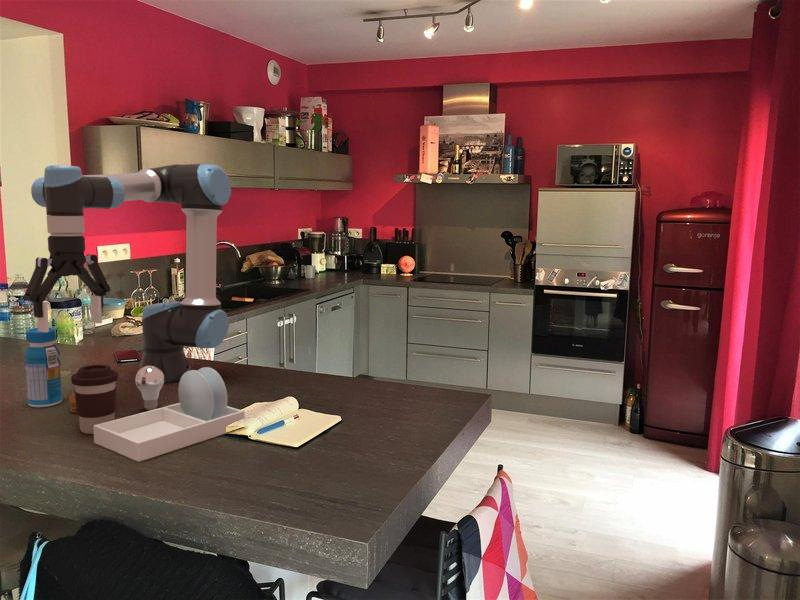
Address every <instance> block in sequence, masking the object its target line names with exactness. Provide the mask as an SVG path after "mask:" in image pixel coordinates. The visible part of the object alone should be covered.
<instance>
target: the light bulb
mask: <svg viewBox="0 0 800 600" xmlns="http://www.w3.org/2000/svg"><path fill="white" fill-rule="evenodd" d="M134 382H135V386H136V387H137V388H138V390H139V391H140V393H141V397H142V399H143V400H144V401H143V407H144V409H146V410H147V411H150V410H154V409H158V403H159V401H158V398H159V397H160V391H161V390H162V388H163V385H164V383H165V382H164V374H163V372H162V371H161V370H160V369H159V368H158V367H156V366H152V365H149V366H145V367H143V368H141V369H140V370H139V369H138V371H137V372H136V375H135V381H134Z"/></svg>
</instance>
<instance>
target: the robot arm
mask: <svg viewBox="0 0 800 600" xmlns="http://www.w3.org/2000/svg"><path fill="white" fill-rule="evenodd" d="M30 190H31V191H30V192H31V193H30V194H31V197H32V200H33V201H34V202H35V203H36V204H37V205H38V206H40V207H42V208H45V209H46V210H45V211H46V213H45V214H46V226H47V227H46V228H47V229H46V231H47V233H48V234H50V235H49V236H47V250H48V252H49V257H48V258H47V257H36V258H35V267H34V271H33V272H32V275H31V277H30V280H29V282H28V285H27V288H26V289H25V292H24V295H23V300H24V301H26V302H31V303H32V305H33V307H32V309H33V316H34V318H36V319H37V320H36V321H37V322H36V323H37V328H38V331H40V332H49V328H50V327H49V312H48V302H44V301H45V300H46V298H47V297H48V295H50V292H51V291H52V289H53V288H54V287H55V286H56V284H57V282H59V280H60V279H62V277H69V276H77V277H78V278H79V279H80V280H81V281H82V282H83V283H84V285H85V286H86V287H87V288H88V289H89V291H91V292H92V294H93V295H90V312H91V323H92V324H93V323H94V324H102V323H103V318H102V317H103V315H102V314H103V313H102V309H103V308H104V306H105V305H104V297H105V296H107V293H110V291H111V287H110V285H109V283H108V281H107V279H106V277H105V275H104V273H103V271H102V269H101V267H100V264H99V261H98V256H97V255H96V254H91V253H90V254H89V253H87V254H85V251H86V240H85V239H86V237H84V235H83V234H85V232H86V231H85V229H86V228H85V217H84V215H85V214H84V213H85V211H84V209H94V210H96V209H97V210H99V209H100V210H101V209H104V210H110V209H117V208H119V207H120V206H121V205H122V204H123V203H124V202H128V201H130V202H131V201H139V200H140V201H143V202H145V203H166V204H174V205H180V209H181V211H182V213H184V214H185V216H186V220H185V221H186V226H185V227H186V231H185V232H186V238H185V239H186V240H185V241H186V242H185V244H186V245H185V246H186V247H185V296H184V299H182V300H181V301H180V300H176V301H174V300H173V301H166V302H165V301H164V302H158V303H157V302H156V303H152V304H147V305H145V306H144V307H143V308H142V311H141V312H142V315H141V316H142V318H141V326H142V327H141V328H142V345H143V355H142V358H141V361H140V364H139V369H138V371H139V370H140V369H141V368H143V367H145V366H149V365H152V366H156V367H158V368H159V369H160V370H161V371H162V372H163V374H164V383H170V382H171V383H172V382H177V381H180V379H181V377H182V375H183V374H184V373H185V372H187V371H190V370H191V366H190V364H189V362H188V359H187V356H186V353H185V348H184V347H191V348H198V349H201V350H202V349H215V348H217V347H219V346H220V345H221V344H222V343H223V342H224V340H225V339H226V336H227V335H228V332H229V326H230V319H229V316H228V314H227V313H226V312H225V311H224V310H223V309H222V303H221V301H220V300H219V299H218V298H217V235H218V233H217V231H218V230H217V229H218V227H217V226H218V225H217V224H218V223H217V222H218V221H217V220H218V216H220V215H221V213H223V206H225V205H226V204H228V203H229V199H230V198H231V194H232V186H231V181H230V178H229V177H228V174H226V171H225V170H224V169H223V168H222V167H221V166H219V165H217V164H208V163H196V164H195V163H193V164H192V163H191V164H188V163H187V164H170V165H163V166H157V167H151V168H143V169H140V170H139V171H138V172H128V173H127V172H125V173H109V174H108V173H105V174H87V175H83V174H82V168H81V167H80V166H78V165H77V166H74V165H63V164H62V165H58V164H57V165H55V164H54V165H53V164H52V165H47V166H46V167H45V168H44V175H43V177H42V176H41V177H38V178H37V179H35V180H33V183H32V185H31V188H30ZM85 264H86V265H87V268H88V269H89V271H88V269H86V267H85ZM50 267H51V268H50ZM48 268H50V269H49V271H48ZM47 271H48V272H47ZM89 272H90V273H91V274H90V273H89ZM46 274H47V276H46ZM44 278H45V279H44Z"/></svg>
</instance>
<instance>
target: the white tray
mask: <svg viewBox="0 0 800 600" xmlns="http://www.w3.org/2000/svg"><path fill="white" fill-rule="evenodd" d="M245 416H246V415H245V410H242V409H238V408H235V407H232V406H228V405H227V407H226V411H225V413H224V414H223V416H222V417H219V418H216V419H213V420H211V419H209V420H208V421H204V420H201V419H198V418H195V417H192V416H189V415H186V414H184V412H183V410H182V408H181V405H180V402H178V403H172V404H169V405H166V406H163V407H159V408H158V407H157V408H156V409H154V410H150V411H148V410H147V411H143V412H139V413H135V414H133V415H128V416H125V417H122V418H117V419H114V420H113V421H109V422H105V423H101V424H97V425H94V426H93V428H94V434H93V444H96V445H98V446H101V447H103V448H105V449H108V450H111V451H112V452H115V453H117V454H119V455H122V456H124V457H125V458H128V459H131V460H133V461H135V462H139V463H140V462H143V461H146V460H149V459H152V458H155V457H158V456H161V455H165V454H168V453H170V452H174V451H177V450H180V449H182V448H186V447H189V446H191V445H192V446H193V445H195V444H198V443H201V442H204V441H208V440H209V439H213V438H217V437H219V436H223V435H226V434H227V433H226V427H227V426H228V425H230V424H232V423H234V422H236V421H239V420H241V419H244V418H245ZM245 419H246V418H245Z"/></svg>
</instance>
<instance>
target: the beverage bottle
mask: <svg viewBox="0 0 800 600" xmlns="http://www.w3.org/2000/svg"><path fill="white" fill-rule="evenodd" d="M56 335H57V334H56V329H55V328H54V327H49V332H40V331H38V327H35V328H28V329H27V330H26V331H25V336H26V337H25V339H26V343H27V344H29V345H28V346H27V347H26V350H25V352H24V355H23V356H24V359H25V363H24V370H25V381H26V383H25V384H26V395H27V396H26V397H27V400H26V402H27V405H28V406H29V407H32V408H46V407H47V408H48V407H52V406H57V405H58V404H61V403H62V401H63V391H62V373H61V372H62V371H61V370H62V369H61V366H62V363H61V360H60V355H61V354H60V350H59V348H58V347H57V345H56V344H55V343H54V342H56V338H57V337H56Z"/></svg>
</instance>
